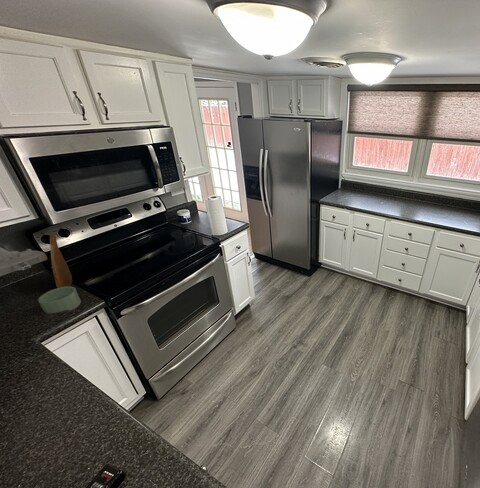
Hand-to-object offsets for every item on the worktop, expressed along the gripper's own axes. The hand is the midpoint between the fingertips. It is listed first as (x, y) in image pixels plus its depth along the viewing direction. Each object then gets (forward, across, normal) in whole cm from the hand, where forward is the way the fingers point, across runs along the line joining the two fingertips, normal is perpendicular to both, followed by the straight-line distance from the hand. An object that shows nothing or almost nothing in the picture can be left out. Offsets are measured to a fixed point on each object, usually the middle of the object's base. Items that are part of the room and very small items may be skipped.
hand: (26, 267), depth 120 cm
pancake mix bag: (-7, +13, +20) cm, 25 cm away
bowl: (+14, +1, +20) cm, 24 cm away
